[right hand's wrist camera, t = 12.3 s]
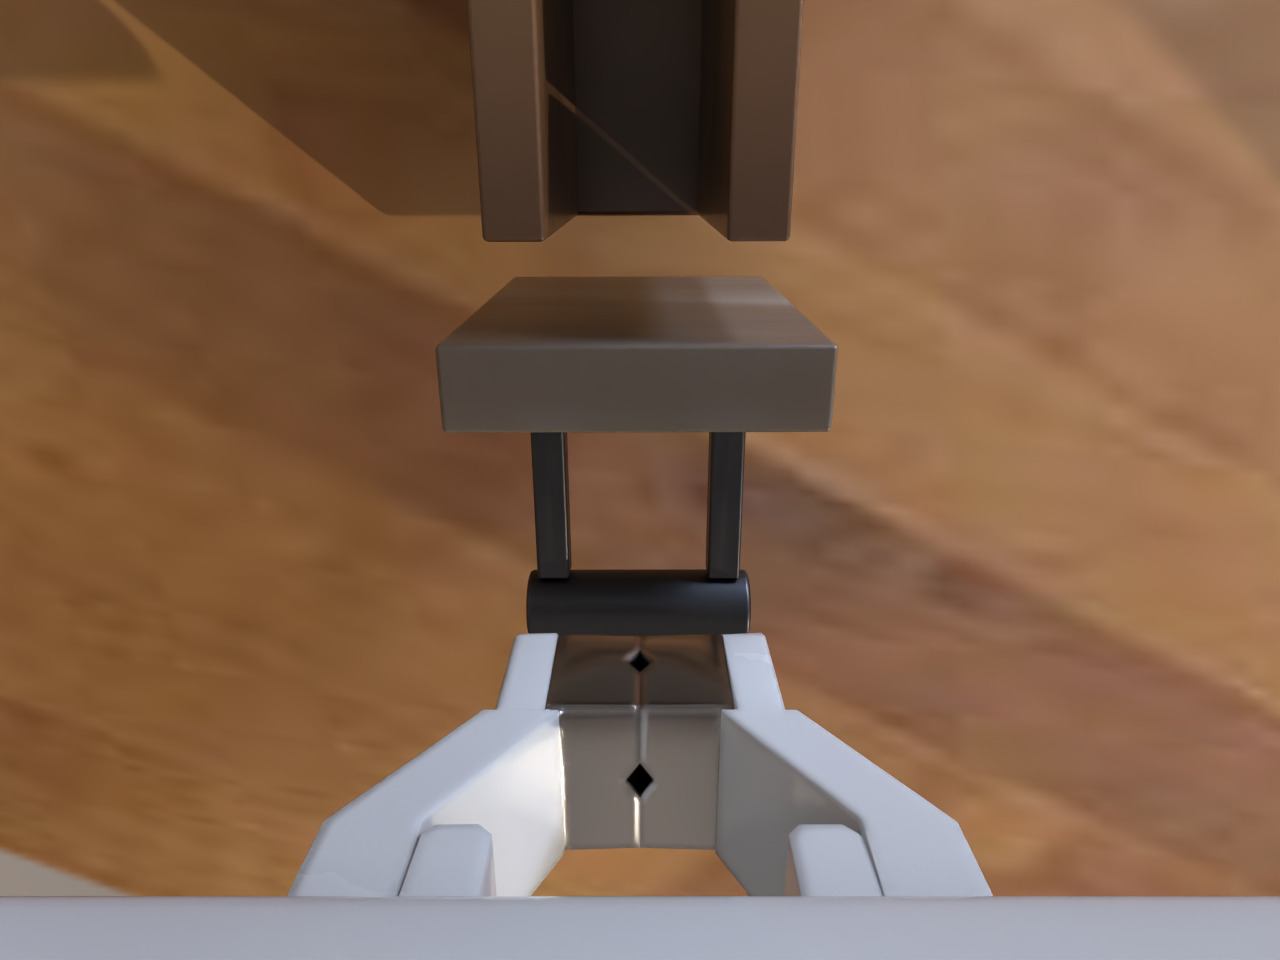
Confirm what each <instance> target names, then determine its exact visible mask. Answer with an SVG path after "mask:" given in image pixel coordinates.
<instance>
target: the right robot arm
mask: <svg viewBox="0 0 1280 960" xmlns="http://www.w3.org/2000/svg"><path fill="white" fill-rule="evenodd" d="M607 848H672V849H708V850H716V854H717V855H718V857H719V858H720V859H721V860H722V862H723V863H724V864H725V865H726V867H727V868H728V869H729V870H730V872H731V873H732V874H733V876H734V877H735V878H736V879H737V881H738V882H739V883H740V884H741V886H742V887H743V888H744V889H745V891H746V892H747V893H748V894H749V896H531V895H532V894H533V893H534V891H535V890H536V889H537V888H538V886H539V885H540V884H541V883H542V881H543V880H544V879H545V878H546V876H547V875H548V874H549V873H550V871H551V870H552V869H553V868H554V866H555V865H556V864H557V862H558V861H559V860H560V859H561V857H562V856H563V855H564V850H572V849H607ZM0 960H1280V896H993V894H992V892H991V890H990V888H989V886H988V884H987V882H986V880H985V878H984V876H983V874H982V872H981V870H980V868H979V866H978V863H977V861H976V859H975V857H974V855H973V853H972V851H971V849H970V847H969V845H968V843H967V841H966V839H965V837H964V835H963V833H962V830H961V828H960V826H959V824H958V822H957V821H955V820H954V819H952V818H951V817H949V816H948V815H947V814H945V813H944V812H942V811H941V810H939V809H938V808H936V807H935V806H934V805H932V804H931V803H929V802H928V801H926V800H925V799H924V798H922V797H921V796H919V795H918V794H916V793H915V792H914V791H912V790H911V789H909V788H908V787H906V786H905V785H904V784H902V783H901V782H899V781H898V780H896V779H895V778H894V777H892V776H891V775H889V774H888V773H886V772H885V771H884V770H882V769H881V768H879V767H878V766H876V765H875V764H874V763H872V762H871V761H869V760H868V759H866V758H865V757H864V756H862V755H861V754H859V753H858V752H856V751H855V750H854V749H852V748H851V747H849V746H848V745H846V744H845V743H844V742H842V741H841V740H839V739H838V738H836V737H835V736H834V735H832V734H831V733H829V732H828V731H826V730H825V729H824V728H822V727H821V726H819V725H818V724H816V723H815V722H814V721H812V720H811V719H809V718H808V717H806V716H805V715H804V714H802V713H801V712H799V711H798V710H785V707H784V704H783V700H782V697H781V693H780V689H779V686H778V682H777V678H776V675H775V671H774V667H773V664H772V660H771V656H770V653H769V649H768V646H767V642H766V638H765V636H764V635H763V634H762V633H744V634H704V635H663V636H640V635H596V634H560V635H558V634H557V633H534V634H518V635H517V636H516V637H515V638H514V641H513V645H512V648H511V652H510V656H509V659H508V663H507V667H506V671H505V674H504V678H503V682H502V685H501V689H500V693H499V696H498V700H497V704H496V707H495V710H482V711H481V712H479V713H478V714H477V715H475V716H474V717H472V718H471V719H469V720H468V721H466V722H465V723H464V724H462V725H461V726H459V727H458V728H456V729H455V730H454V731H452V732H451V733H449V734H448V735H446V736H445V737H443V738H442V739H441V740H439V741H438V742H436V743H435V744H433V745H432V746H431V747H429V748H428V749H426V750H425V751H423V752H422V753H420V754H419V755H418V756H416V757H415V758H413V759H412V760H410V761H409V762H408V763H406V764H405V765H403V766H402V767H400V768H399V769H398V770H396V771H395V772H393V773H392V774H390V775H389V776H387V777H386V778H385V779H383V780H382V781H380V782H379V783H377V784H376V785H375V786H373V787H372V788H370V789H369V790H367V791H366V792H364V793H363V794H362V795H360V796H359V797H357V798H356V799H354V800H353V801H352V802H350V803H349V804H347V805H346V806H344V807H343V808H341V809H340V810H339V811H337V812H336V813H334V814H333V815H331V816H330V817H329V818H327V819H326V820H324V821H323V823H322V825H321V827H320V829H319V831H318V833H317V835H316V837H315V840H314V842H313V844H312V846H311V848H310V850H309V852H308V854H307V856H306V858H305V860H304V862H303V864H302V866H301V868H300V870H299V872H298V874H297V876H296V878H295V880H294V882H293V884H292V886H291V888H290V890H289V892H288V894H287V896H0Z"/></svg>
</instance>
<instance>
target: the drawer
mask: <svg viewBox="0 0 1280 960" xmlns="http://www.w3.org/2000/svg"><path fill="white" fill-rule="evenodd" d="M803 1H804V0H467V5H468V20H469V35H470V51H471V66H472V81H473V96H474V112H475V127H476V142H477V158H478V173H479V188H480V204H481V219H482V234H483V238H484V240H485V241H488V242H541V241H543V240H545V239H546V238H548V237H549V236H550V235H551V234H553V233H554V232H555V231H557V230H558V229H559V228H561V227H562V226H563V225H565V224H566V223H567V222H568V221H570V220H571V219H572V218H574V217H575V216H576V215H700V216H701V217H702V218H703V219H704V220H705V221H707V222H708V223H709V224H710V225H711V226H713V227H714V228H715V229H716V230H717V231H718V232H720V233H721V234H722V235H723V236H724V237H726V238H727V239H728V240H730V241H786V240H788V239H789V237H790V227H791V209H792V192H793V175H794V157H795V140H796V123H797V105H798V88H799V70H800V53H801V36H802V18H803ZM837 353H838V348H837V345H836V344H835V343H833V342H832V341H831V340H830V339H829V338H828V337H827V336H826V335H825V334H824V333H823V332H821V331H820V330H819V329H818V328H817V327H816V326H815V325H814V324H813V323H812V322H811V321H810V320H808V319H807V318H806V317H805V316H804V315H803V314H802V313H801V312H800V311H799V310H798V309H796V308H795V307H794V306H793V305H792V304H791V303H790V302H789V301H788V300H787V299H786V298H784V297H783V296H782V295H781V294H780V293H779V292H778V291H777V290H776V289H775V288H774V287H772V286H771V285H770V284H769V283H768V282H767V281H766V280H765V279H764V278H763V277H760V276H726V277H515V278H513V279H512V280H511V281H510V282H509V283H508V284H507V285H506V286H504V287H503V288H502V289H501V290H500V291H499V292H498V293H496V294H495V295H494V296H493V297H492V298H491V299H490V300H489V301H487V302H486V303H485V304H484V305H483V306H482V307H481V308H479V309H478V310H477V311H476V312H475V313H474V314H473V315H472V316H470V317H469V318H468V319H467V320H466V321H465V322H464V323H462V324H461V325H460V326H459V327H458V328H457V329H456V330H455V331H453V332H452V333H451V334H450V335H449V336H448V337H447V338H445V339H444V340H443V341H442V342H441V343H440V344H439V345H438V346H437V347H436V361H437V373H438V384H439V395H440V407H441V418H442V428H443V430H444V432H448V433H506V432H531V449H532V469H533V489H534V509H535V529H536V549H537V569H538V570H533V571H532V572H531V573H530V576H529V580H528V587H527V603H526V615H527V628H528V633H529V634H534V633H557V634H558V635H560V634H596V635H640V636H663V635H704V634H744V633H749V630H750V619H751V599H750V585H749V579H748V575H747V573H746V571H745V570H740V548H741V524H742V501H743V478H744V455H745V432H827V431H830V429H831V427H832V416H833V403H834V391H835V378H836V366H837ZM567 432H709V461H708V498H707V534H706V570H571V537H570V508H569V479H568V449H567Z"/></svg>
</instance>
